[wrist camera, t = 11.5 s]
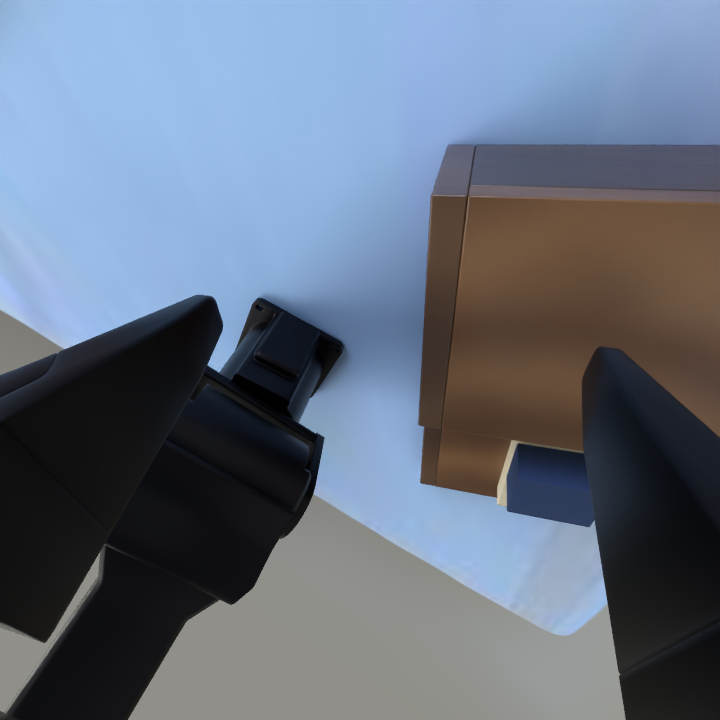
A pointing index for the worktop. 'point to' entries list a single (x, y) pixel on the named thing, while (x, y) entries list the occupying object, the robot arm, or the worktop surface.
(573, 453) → the blue sleeved eraser
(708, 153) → the brown wooden cabinet
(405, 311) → the worktop surface
